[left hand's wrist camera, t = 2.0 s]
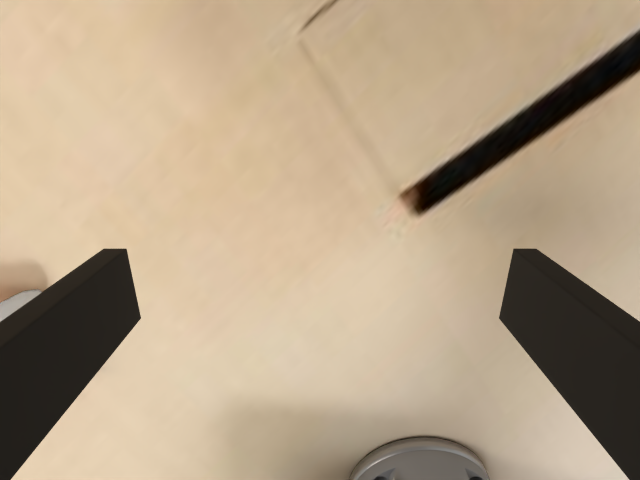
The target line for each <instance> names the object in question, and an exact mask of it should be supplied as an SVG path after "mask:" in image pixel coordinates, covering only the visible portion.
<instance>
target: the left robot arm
mask: <svg viewBox="0 0 640 480" xmlns="http://www.w3.org/2000/svg"><path fill="white" fill-rule="evenodd" d="M140 319H141V317H140V312H139V307H138V302H137V297H136V293H135V288H134V283H133V278H132V273H131V269H130V264H129V259H128V254H127V249H103V250H101V251H100V252H99V253H97V254H96V255H94V256H93V257H91V258H90V259H89V260H87V261H86V262H84V263H83V264H82V265H80V266H79V267H77V268H76V269H74V270H73V271H72V272H70V273H69V274H67V275H66V276H65V277H63V278H62V279H60V280H59V281H57V282H56V283H55V284H53V285H52V286H50V287H49V288H47V289H46V290H45V291H43V292H42V293H40V294H39V295H38V296H36V297H35V298H33V299H32V300H30V301H29V302H28V303H26V304H25V305H23V306H22V307H21V308H19V309H18V310H16V311H15V312H13V313H12V314H11V315H9V316H8V317H6V318H5V319H3V320H2V321H1V322H0V480H11V478H12V477H13V476H14V475H15V473H16V472H17V471H18V470H19V468H20V467H21V466H22V465H23V464H24V462H25V461H26V460H27V459H28V457H29V456H30V455H31V454H32V452H33V451H34V450H35V449H36V447H37V446H38V445H39V444H40V442H41V441H42V440H43V439H44V438H45V436H46V435H47V434H48V433H49V431H50V430H51V429H52V428H53V426H54V425H55V424H56V423H57V421H58V420H59V419H60V418H61V416H62V415H63V414H64V413H65V412H66V410H67V409H68V408H69V407H70V405H71V404H72V403H73V402H74V400H75V399H76V398H77V397H78V395H79V394H80V393H81V392H82V390H83V389H84V388H85V387H86V386H87V384H88V383H89V382H90V381H91V379H92V378H93V377H94V376H95V374H96V373H97V372H98V371H99V369H100V368H101V367H102V366H103V364H104V363H105V362H106V361H107V360H108V358H109V357H110V356H111V355H112V353H113V352H114V351H115V350H116V348H117V347H118V346H119V345H120V343H121V342H122V341H123V340H124V338H125V337H126V336H127V335H128V334H129V332H130V331H131V330H132V329H133V327H134V326H135V325H136V324H137V322H138V321H139V320H140ZM499 319H500V320H501V321H502V322H503V324H504V325H505V326H506V327H507V329H508V330H509V331H510V332H511V334H512V335H513V336H514V337H515V338H516V340H517V341H518V342H519V343H520V345H521V346H522V347H523V348H524V350H525V351H526V352H527V353H528V355H529V356H530V357H531V358H532V360H533V361H534V362H535V363H536V364H537V366H538V367H539V368H540V369H541V371H542V372H543V373H544V374H545V376H546V377H547V378H548V379H549V381H550V382H551V383H552V384H553V386H554V387H555V388H556V389H557V390H558V392H559V393H560V394H561V395H562V397H563V398H564V399H565V400H566V402H567V403H568V404H569V405H570V407H571V408H572V409H573V410H574V412H575V413H576V414H577V415H578V416H579V418H580V419H581V420H582V421H583V423H584V424H585V425H586V426H587V428H588V429H589V430H590V431H591V433H592V434H593V435H594V436H595V438H596V439H597V440H598V441H599V442H600V444H601V445H602V446H603V447H604V449H605V450H606V451H607V452H608V454H609V455H610V456H611V457H612V459H613V460H614V461H615V462H616V464H617V465H618V466H619V467H620V468H621V470H622V471H623V472H624V473H625V475H626V476H627V477H628V478H629V480H640V322H639V321H638V320H637V319H635V318H634V317H632V316H631V315H629V314H628V313H627V312H625V311H624V310H622V309H621V308H619V307H618V306H617V305H615V304H614V303H612V302H611V301H610V300H608V299H607V298H605V297H604V296H602V295H601V294H600V293H598V292H597V291H595V290H594V289H593V288H591V287H590V286H588V285H587V284H585V283H584V282H583V281H581V280H580V279H578V278H577V277H575V276H574V275H573V274H571V273H570V272H568V271H567V270H566V269H564V268H563V267H561V266H560V265H558V264H557V263H556V262H554V261H553V260H551V259H550V258H549V257H547V256H546V255H544V254H543V253H541V252H540V251H539V250H537V249H513V254H512V259H511V264H510V269H509V273H508V278H507V283H506V288H505V293H504V297H503V302H502V307H501V312H500V317H499ZM349 480H490V479H489V476H488V474H487V472H486V470H485V467H484V465H483V464H482V462H481V461H480V459H479V458H478V457H477V456H476V455H475V454H474V453H473V452H471V451H470V450H469V449H467V448H465V447H464V446H462V445H459V444H457V443H454V442H451V441H448V440H444V439H438V438H410V439H404V440H400V441H396V442H393V443H390V444H387V445H385V446H382V447H380V448H378V449H376V450H375V451H373V452H371V453H370V454H368V455H367V456H366V457H365V458H364V459H362V460H361V461H360V462H359V463H358V465H357V466H356V467H355V469H354V470H353V472H352V474H351V476H350V478H349Z"/></svg>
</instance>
